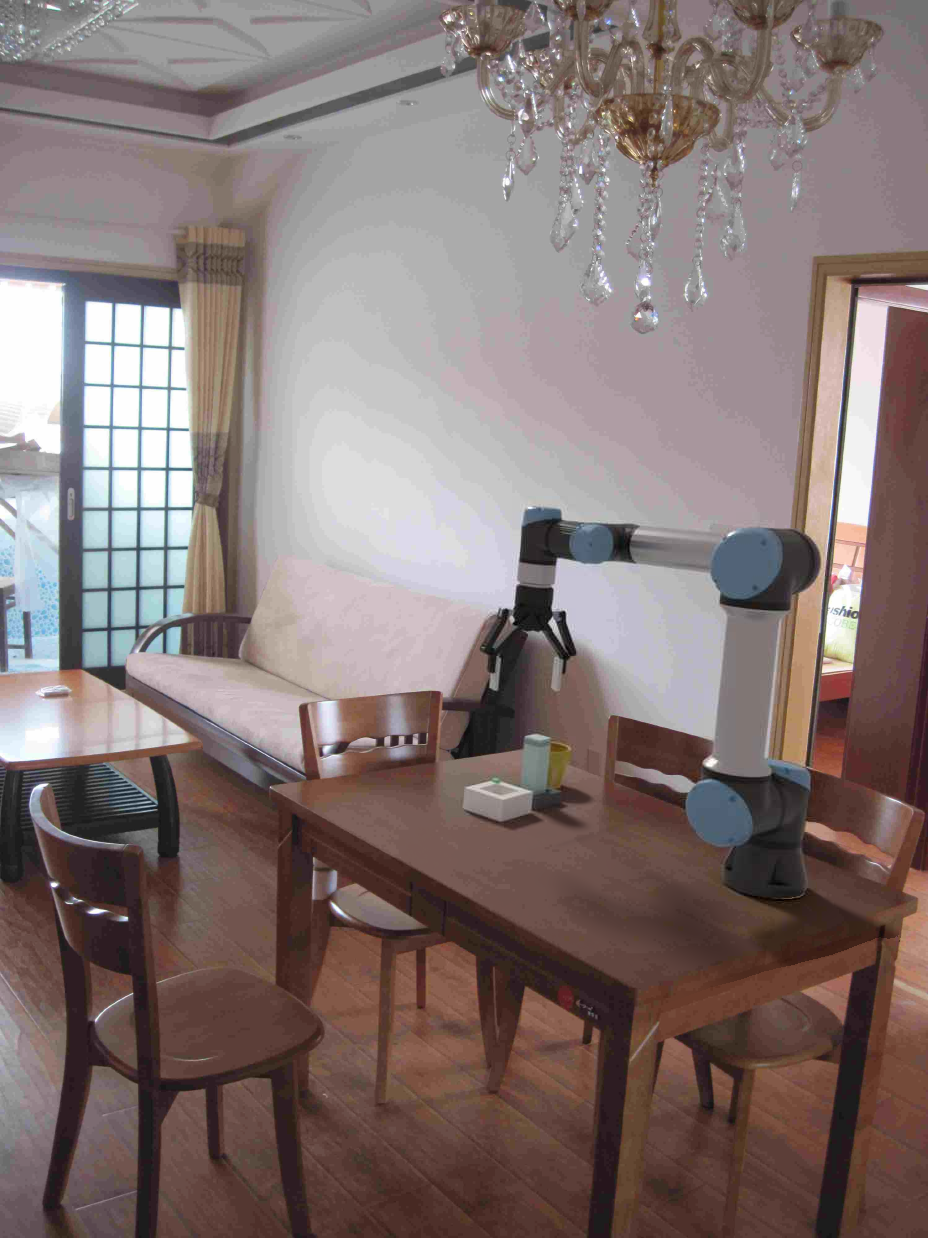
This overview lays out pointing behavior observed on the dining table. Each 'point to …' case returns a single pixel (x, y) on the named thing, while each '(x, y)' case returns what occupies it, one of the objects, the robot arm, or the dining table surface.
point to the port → (497, 800)
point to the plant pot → (557, 764)
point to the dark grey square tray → (545, 798)
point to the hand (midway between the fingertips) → (524, 689)
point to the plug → (535, 763)
